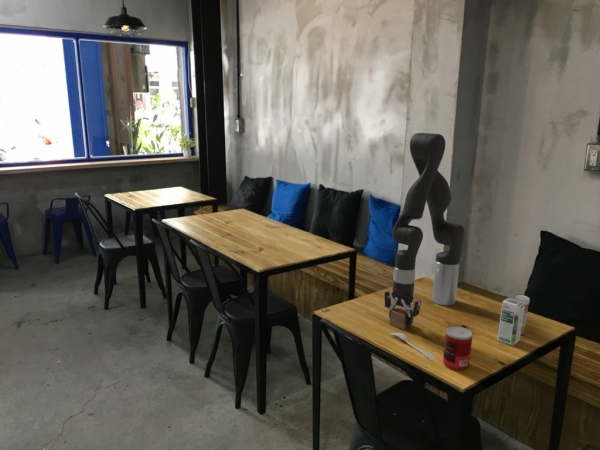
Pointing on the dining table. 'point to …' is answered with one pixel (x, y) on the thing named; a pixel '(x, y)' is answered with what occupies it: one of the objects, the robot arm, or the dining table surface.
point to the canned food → (457, 348)
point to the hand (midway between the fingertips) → (400, 322)
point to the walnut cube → (399, 318)
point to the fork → (414, 346)
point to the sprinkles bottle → (526, 300)
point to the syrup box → (511, 321)
